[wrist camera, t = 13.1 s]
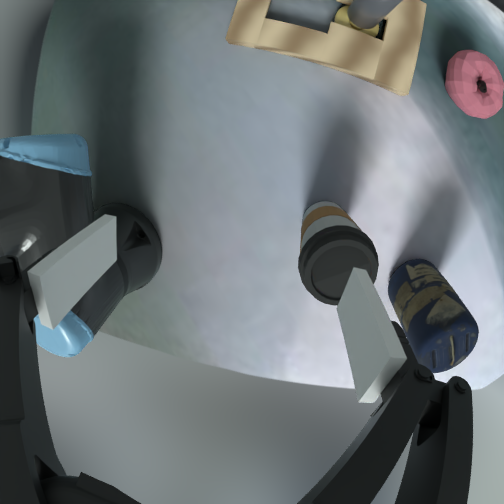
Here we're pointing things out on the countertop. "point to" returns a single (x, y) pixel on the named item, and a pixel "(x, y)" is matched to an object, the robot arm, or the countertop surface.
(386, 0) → the peg
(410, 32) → the keyhole board
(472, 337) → the canister
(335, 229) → the coffee cup
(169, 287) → the countertop surface
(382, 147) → the countertop surface
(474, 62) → the apple
